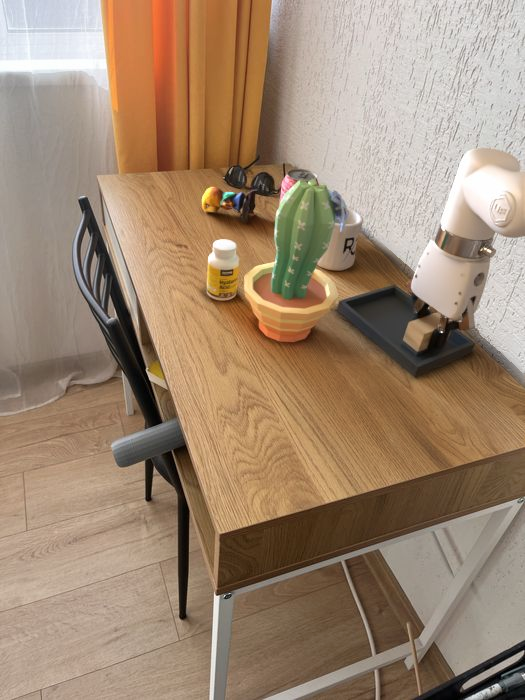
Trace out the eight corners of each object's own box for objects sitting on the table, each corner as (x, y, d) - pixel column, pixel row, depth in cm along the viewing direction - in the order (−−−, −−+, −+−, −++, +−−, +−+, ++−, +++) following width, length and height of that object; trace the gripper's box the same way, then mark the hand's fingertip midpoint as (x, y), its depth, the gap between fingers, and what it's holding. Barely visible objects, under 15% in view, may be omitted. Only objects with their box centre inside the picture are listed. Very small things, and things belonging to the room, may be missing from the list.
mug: (339, 277, 103) (349, 230, 97) (300, 260, 107) (308, 214, 101) (368, 255, 111) (380, 211, 105) (332, 240, 115) (341, 196, 109)
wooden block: (430, 332, 90) (438, 311, 87) (445, 344, 88) (454, 322, 85) (401, 343, 87) (408, 321, 84) (416, 356, 85) (424, 334, 82)
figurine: (198, 213, 119) (199, 187, 115) (214, 202, 124) (216, 176, 120) (243, 227, 116) (246, 201, 112) (258, 215, 121) (260, 189, 117)
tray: (471, 352, 88) (476, 343, 87) (414, 377, 82) (418, 367, 81) (391, 293, 100) (394, 284, 99) (336, 310, 94) (338, 300, 93)
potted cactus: (322, 364, 82) (356, 215, 66) (228, 342, 84) (238, 192, 68) (335, 310, 94) (366, 173, 78) (251, 292, 96) (265, 155, 80)
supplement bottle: (218, 305, 92) (220, 255, 86) (200, 290, 95) (202, 241, 89) (242, 296, 95) (247, 247, 88) (224, 282, 98) (227, 234, 92)
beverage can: (316, 224, 120) (325, 172, 113) (306, 238, 114) (315, 185, 107) (283, 215, 122) (289, 164, 115) (272, 229, 116) (278, 176, 109)
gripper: (527, 262, 72) (479, 363, 84) (437, 212, 82) (406, 308, 94) (492, 273, 69) (447, 377, 80) (403, 219, 79) (375, 318, 90)
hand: (425, 339), depth 87 cm, fingers closed on wooden block, 3 cm apart
